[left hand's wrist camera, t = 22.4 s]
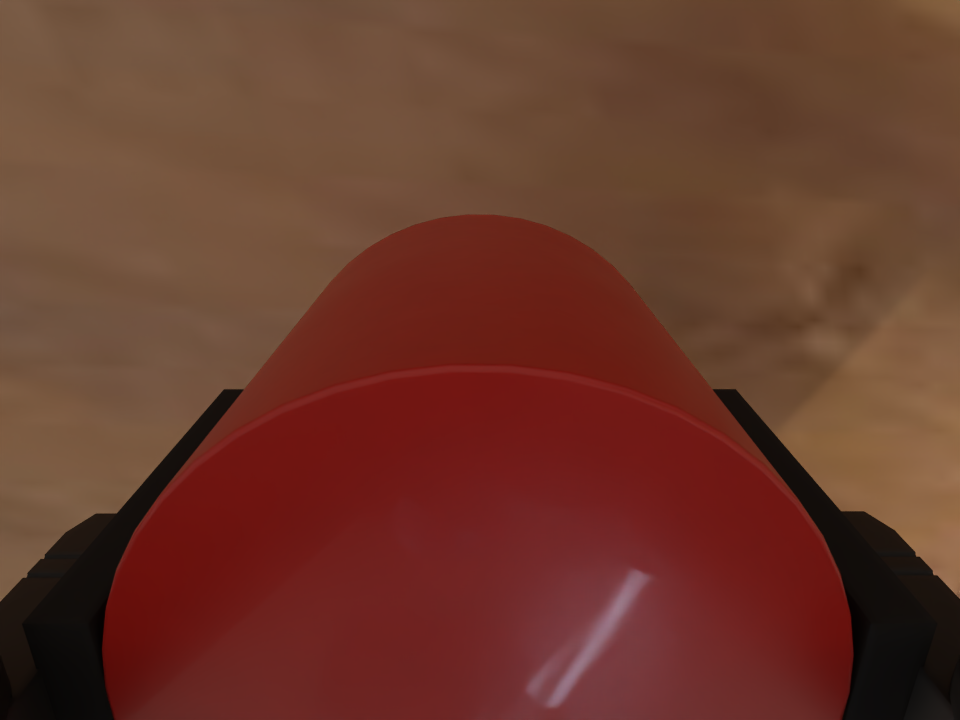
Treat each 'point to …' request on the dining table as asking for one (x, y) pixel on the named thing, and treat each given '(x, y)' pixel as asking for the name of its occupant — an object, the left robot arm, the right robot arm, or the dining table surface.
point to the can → (477, 516)
